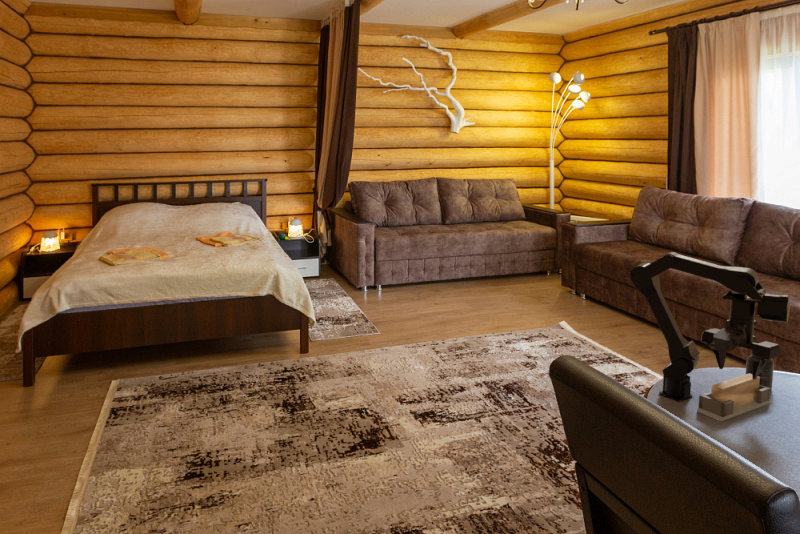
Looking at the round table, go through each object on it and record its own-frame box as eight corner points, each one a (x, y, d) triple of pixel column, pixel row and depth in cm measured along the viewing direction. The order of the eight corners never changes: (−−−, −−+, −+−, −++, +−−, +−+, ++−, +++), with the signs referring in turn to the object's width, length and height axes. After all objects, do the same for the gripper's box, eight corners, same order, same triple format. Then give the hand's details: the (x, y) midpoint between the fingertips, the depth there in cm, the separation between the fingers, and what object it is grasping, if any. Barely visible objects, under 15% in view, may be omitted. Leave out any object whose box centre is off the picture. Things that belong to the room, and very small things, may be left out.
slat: (710, 408, 164) (711, 385, 163) (747, 395, 172) (749, 373, 170) (720, 412, 162) (722, 388, 160) (757, 399, 169) (759, 376, 168)
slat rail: (697, 411, 165) (698, 395, 164) (745, 394, 175) (746, 379, 174) (721, 421, 159) (722, 404, 158) (770, 403, 169) (771, 387, 168)
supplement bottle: (772, 386, 180) (776, 346, 178) (771, 394, 175) (775, 353, 172) (745, 382, 184) (748, 343, 182) (743, 390, 178) (746, 350, 176)
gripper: (689, 314, 166) (686, 369, 169) (758, 330, 150) (753, 391, 153) (716, 307, 171) (712, 361, 174) (785, 323, 155) (779, 382, 158)
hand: (737, 373), depth 165 cm, fingers open, 9 cm apart
